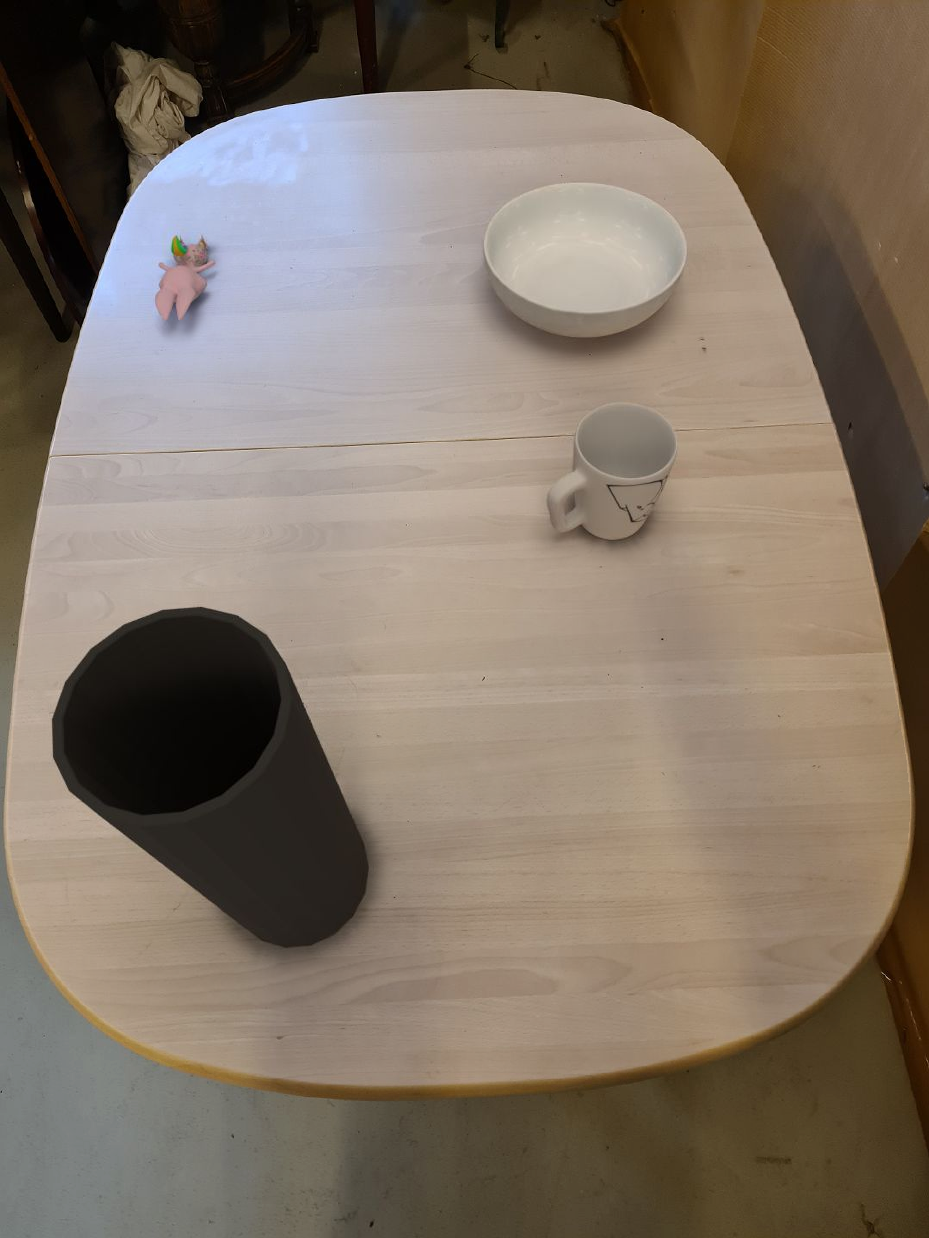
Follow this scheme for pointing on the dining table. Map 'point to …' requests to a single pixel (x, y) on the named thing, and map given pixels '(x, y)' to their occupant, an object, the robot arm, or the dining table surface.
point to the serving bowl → (583, 258)
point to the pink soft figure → (182, 278)
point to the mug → (615, 471)
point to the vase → (214, 770)
